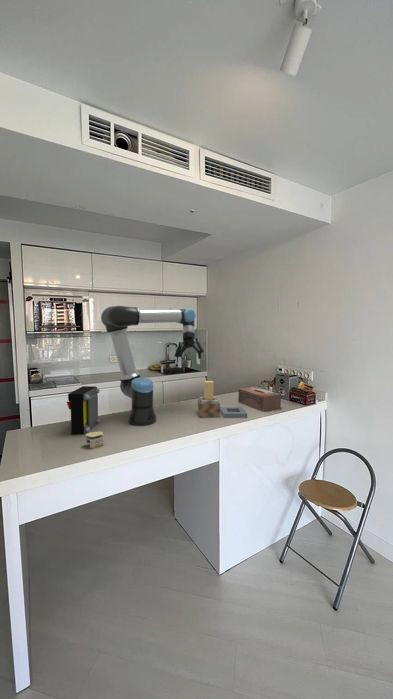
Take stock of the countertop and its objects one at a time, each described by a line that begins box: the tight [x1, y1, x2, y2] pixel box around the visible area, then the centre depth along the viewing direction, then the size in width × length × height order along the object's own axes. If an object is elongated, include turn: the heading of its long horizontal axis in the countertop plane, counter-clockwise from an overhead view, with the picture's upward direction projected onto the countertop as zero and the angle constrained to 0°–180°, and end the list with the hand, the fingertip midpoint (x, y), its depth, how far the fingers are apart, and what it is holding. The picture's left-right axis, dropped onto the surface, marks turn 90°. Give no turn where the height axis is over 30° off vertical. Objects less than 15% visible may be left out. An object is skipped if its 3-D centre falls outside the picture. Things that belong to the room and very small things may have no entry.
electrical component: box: [66, 385, 101, 436], centre depth 148 cm, size 18×10×20 cm, turn 179°
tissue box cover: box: [237, 386, 282, 413], centre depth 196 cm, size 26×14×10 cm, turn 29°
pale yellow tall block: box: [203, 380, 215, 400], centre depth 174 cm, size 5×5×12 cm
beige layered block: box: [85, 430, 105, 449], centre depth 128 cm, size 10×9×6 cm
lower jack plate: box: [220, 406, 248, 419], centre depth 176 cm, size 14×14×2 cm
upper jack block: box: [197, 396, 221, 419], centre depth 175 cm, size 12×12×10 cm
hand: (188, 365), depth 178 cm, fingers open, 13 cm apart
